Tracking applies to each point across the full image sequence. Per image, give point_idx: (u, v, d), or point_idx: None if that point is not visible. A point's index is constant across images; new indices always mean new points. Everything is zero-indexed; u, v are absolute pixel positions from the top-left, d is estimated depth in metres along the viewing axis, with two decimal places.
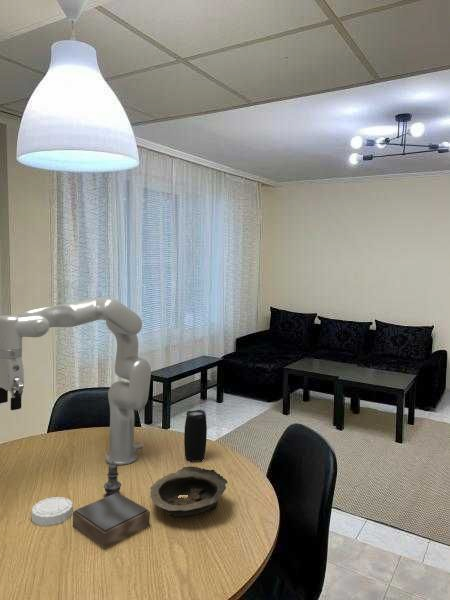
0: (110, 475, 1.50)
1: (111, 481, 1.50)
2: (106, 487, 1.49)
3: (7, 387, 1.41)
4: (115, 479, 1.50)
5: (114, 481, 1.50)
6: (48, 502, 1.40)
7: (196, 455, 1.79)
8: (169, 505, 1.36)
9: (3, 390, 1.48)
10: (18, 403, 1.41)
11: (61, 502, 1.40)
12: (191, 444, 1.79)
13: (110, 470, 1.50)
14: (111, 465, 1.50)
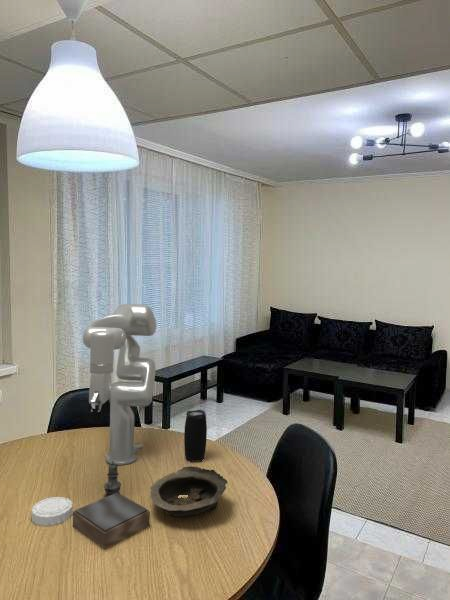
0: (110, 475, 1.50)
1: (111, 481, 1.50)
2: (106, 487, 1.49)
3: (110, 394, 1.52)
4: (115, 479, 1.50)
5: (115, 481, 1.50)
6: (48, 502, 1.40)
7: (196, 455, 1.79)
8: (169, 505, 1.36)
9: None
10: None
11: (61, 502, 1.40)
12: (191, 444, 1.79)
13: (110, 470, 1.50)
14: (111, 465, 1.50)
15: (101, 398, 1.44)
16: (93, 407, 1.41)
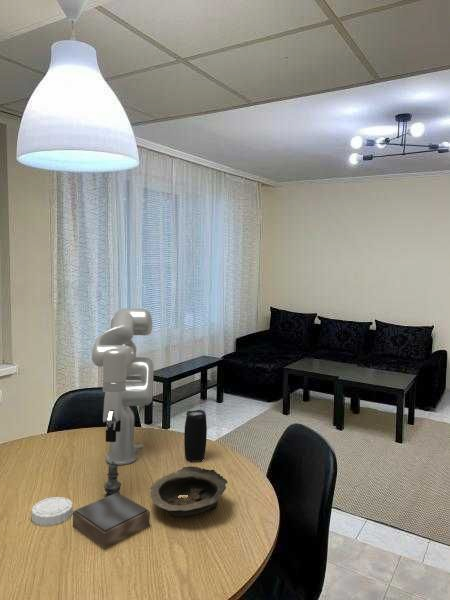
0: (110, 475, 1.50)
1: (111, 481, 1.50)
2: (106, 487, 1.49)
3: (121, 412, 1.53)
4: (115, 479, 1.50)
5: (115, 481, 1.50)
6: (48, 502, 1.40)
7: (196, 455, 1.79)
8: (169, 505, 1.36)
9: None
10: None
11: (61, 502, 1.40)
12: (191, 444, 1.79)
13: (110, 470, 1.50)
14: (111, 465, 1.50)
15: (116, 416, 1.45)
16: (109, 425, 1.42)
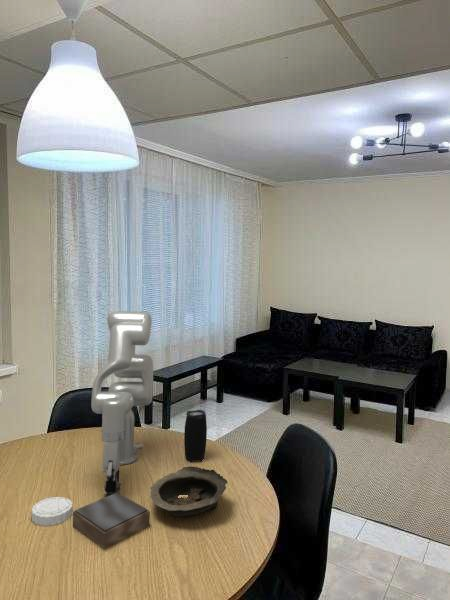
0: None
1: None
2: None
3: None
4: (115, 479, 1.50)
5: None
6: (48, 502, 1.40)
7: (196, 455, 1.79)
8: (169, 505, 1.36)
9: None
10: None
11: (61, 502, 1.40)
12: (191, 444, 1.79)
13: None
14: None
15: (115, 466, 1.46)
16: (109, 478, 1.45)
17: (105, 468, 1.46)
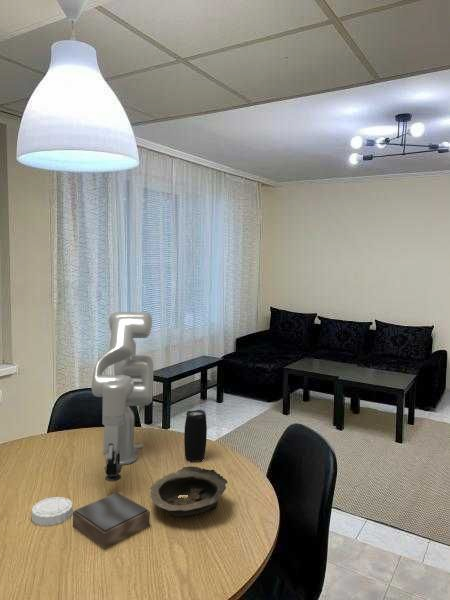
0: None
1: None
2: None
3: (121, 442, 1.55)
4: (116, 462, 1.51)
5: None
6: (48, 502, 1.40)
7: (196, 455, 1.79)
8: (169, 505, 1.36)
9: None
10: None
11: (61, 502, 1.40)
12: (191, 444, 1.79)
13: None
14: None
15: (115, 449, 1.47)
16: (110, 461, 1.46)
17: (106, 451, 1.46)
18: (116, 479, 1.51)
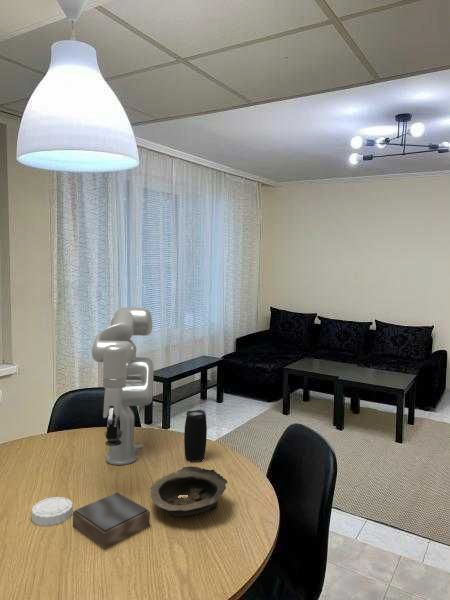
0: None
1: None
2: None
3: None
4: None
5: None
6: (48, 502, 1.40)
7: (196, 455, 1.79)
8: (169, 505, 1.36)
9: None
10: None
11: (61, 502, 1.40)
12: (191, 444, 1.79)
13: None
14: None
15: (116, 412, 1.45)
16: (110, 423, 1.44)
17: (106, 414, 1.45)
18: (116, 444, 1.49)
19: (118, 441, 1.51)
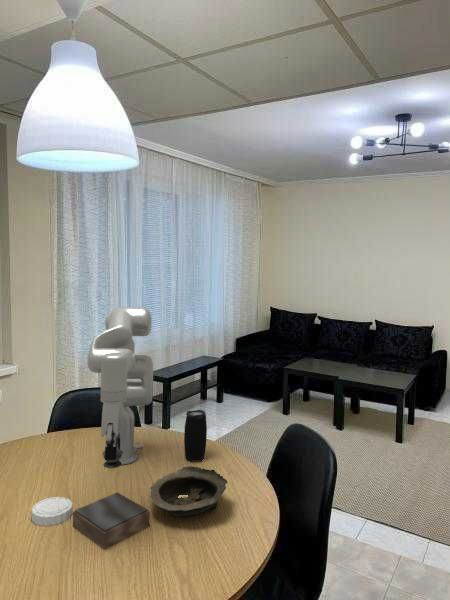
0: None
1: None
2: None
3: None
4: (116, 445, 1.32)
5: None
6: (48, 502, 1.40)
7: (196, 455, 1.79)
8: (169, 505, 1.36)
9: None
10: None
11: (61, 502, 1.40)
12: (191, 444, 1.79)
13: None
14: None
15: (115, 430, 1.27)
16: (109, 443, 1.26)
17: (104, 432, 1.27)
18: (116, 465, 1.31)
19: (118, 462, 1.33)
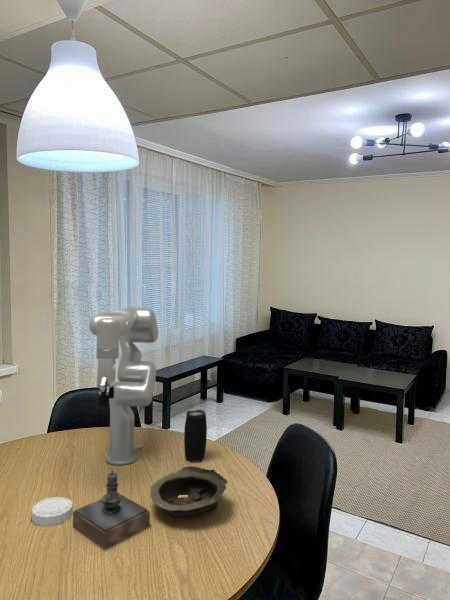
0: (109, 486, 1.32)
1: (111, 493, 1.32)
2: (105, 500, 1.31)
3: None
4: (115, 491, 1.32)
5: (114, 493, 1.32)
6: (48, 502, 1.40)
7: (196, 455, 1.79)
8: (169, 505, 1.36)
9: None
10: None
11: (61, 502, 1.40)
12: (191, 444, 1.79)
13: (109, 481, 1.32)
14: (110, 475, 1.32)
15: (109, 382, 1.51)
16: (102, 390, 1.48)
17: (99, 380, 1.50)
18: (115, 511, 1.32)
19: (117, 507, 1.34)
